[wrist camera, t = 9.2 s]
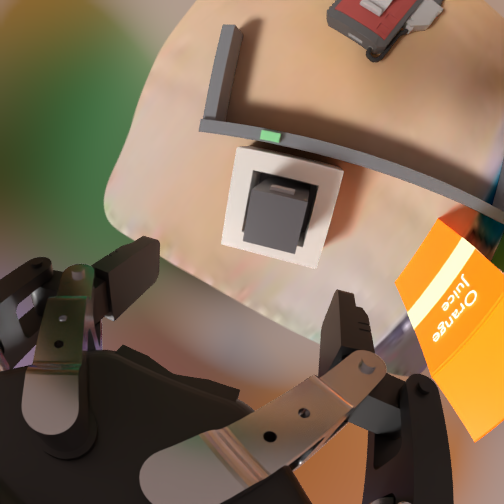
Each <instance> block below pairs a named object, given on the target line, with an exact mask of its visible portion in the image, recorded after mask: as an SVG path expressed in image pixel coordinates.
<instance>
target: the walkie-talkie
mask: <svg viewBox="0 0 504 504" xmlns="http://www.w3.org/2000/svg"><path fill="white" fill-rule="evenodd" d="M442 1H443V0H336V1H335V3H333V4H332V6H330V7H329V10H327V22H328V26H330V27H332V28H333V29H335V30H337V31H339V32H340V33H342V34H343V35H345V36H347V37H348V38H350V39H351V40H353V41H355V42H356V43H358V44H359V45H361V46H362V47H364V48H365V49H367V51H366V56H367V58H368V59H369V60H370V61H372V62H379V61H380V60H382V59H383V57H384V56H385V55H386V53H387V52H388V51H389V50H390V48H391V47H392V46H393V44H394V43H395V42H396V41H397V39H398V38H399V37H400V36H401V35H405V34H406V33H407V34H409V33H410V32H411V31H425V30H426V29H427V28H428V27H429V26H430V24H431V23H432V22H433V20H434V19H435V18H436V17H437V16H438V15H439V14H440V13H441V12H442V11H443V8H442V7H441V6H440V5H441V4H442ZM401 28H402V29H403V31H400V32H399V30H400V29H401ZM398 32H399V33H398ZM395 35H396V36H395ZM388 44H389V45H388ZM370 53H372V54H381V53H382V54H381V55H380V56H379V57H377V58H374V57H372V56H371V54H370Z"/></svg>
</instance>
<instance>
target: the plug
mask: <svg viewBox="0 0 504 504" xmlns="http://www.w3.org/2000/svg"><path fill="white" fill-rule="evenodd" d="M309 190H310V185H308V184H304V183H300V182H295V181H291V180H287V179H282V178H278V177H273V176H269V177H268V178H266V179H265V180H264V181H262V182H261V183H260V184H258V185H257V186H255V187H254V188H253V189H252V190H251V196H250V202H249V207H248V213H247V219H246V225H245V230H244V236H243V241H244V242H248V243H252V244H256V245H260V246H264V247H268V248H272V249H276V250H280V251H284V252H288V253H292V254H295V252H296V248H297V244H298V240H299V236H300V232H301V228H302V224H303V220H304V216H305V212H306V207H307V203H308V197H309Z"/></svg>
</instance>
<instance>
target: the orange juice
mask: <svg viewBox="0 0 504 504" xmlns="http://www.w3.org/2000/svg"><path fill="white" fill-rule="evenodd" d="M395 284H396V287H397V289H398V291H399V293H400V295H401V298H402V300H403V302H404V305H405V307H406V309H407V313H408V316H409V318H410V321H411V323H412V326H413V328H414V329H415V332H416V334H417V337H418V340H419V342H420V345H421V348H422V351H423V353H424V356H425V359H426V362H427V365H428V368H429V371H430V374H431V377H432V378H433V379H434V380H435V382H436V383H437V384H438V386H439V387H440V389H441V390H442V391H443V393H444V395H445V396H446V398H447V399H448V401H449V402H450V404H451V405H452V407H453V408H454V410H455V411H456V412H457V414H458V416H459V417H460V419H461V420H462V422H463V424H464V425H465V427H466V428H467V430H468V432H469V433H470V435H471V437H472V438H473V440H474V442H476V441H478V440H479V439H481V438H482V437H483V436H485V435H486V434H487V433H488V432H490V431H491V430H492V429H493V428H495V427H496V426H497V425H498V424H500V423H501V422H502V421H503V420H504V273H503V272H501V271H500V269H499V268H498V269H497V268H496V267H495V266H494V265H493V264H492V263H491V262H490V261H489V260H488V259H487V258H485V257H484V256H483V255H482V254H481V253H480V252H479V251H478V250H477V249H476V248H475V247H474V246H472V245H471V244H470V243H469V242H468V241H466V240H465V239H464V238H463V237H461V236H460V235H458V234H457V233H456V232H455V231H453V230H452V229H451V228H449V227H448V226H447V225H446V224H444V223H443V222H442V221H440V220H439V219H437V221H436V223H435V224H434V226H433V228H432V229H431V231H430V232H429V234H428V235H427V237H426V239H425V240H424V242H423V243H422V245H421V246H420V248H419V249H418V251H417V252H416V254H415V255H414V256H413V258H412V259H411V261H410V262H409V264H408V265H407V266H406V268H405V269H404V271H403V272H402V273H401V275H400V276H399V277H398V279H397V280H396V281H395Z"/></svg>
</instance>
